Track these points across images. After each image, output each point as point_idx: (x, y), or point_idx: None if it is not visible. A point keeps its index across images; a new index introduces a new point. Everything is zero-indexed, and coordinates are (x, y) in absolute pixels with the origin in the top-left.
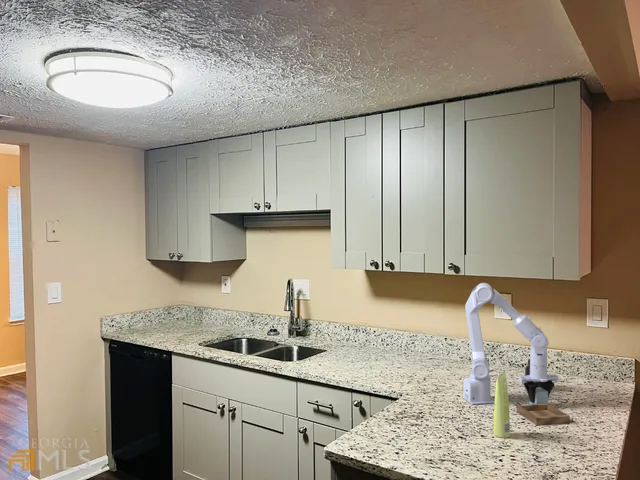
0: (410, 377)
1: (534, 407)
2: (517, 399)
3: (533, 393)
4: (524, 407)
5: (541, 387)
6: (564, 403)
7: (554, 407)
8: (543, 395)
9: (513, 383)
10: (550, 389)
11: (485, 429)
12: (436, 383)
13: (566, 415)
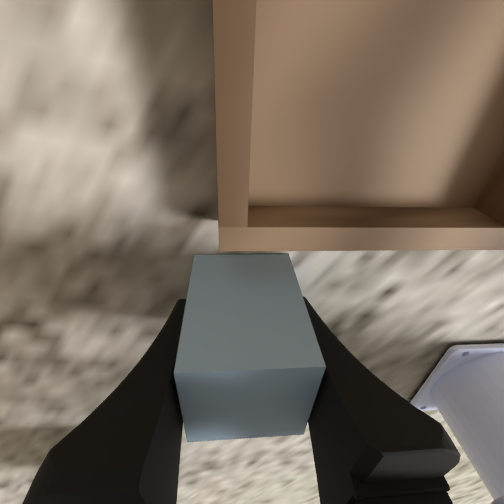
0: (467, 494)
1: (368, 218)
2: None
3: (340, 357)
4: (464, 221)
5: None
6: (23, 305)
7: (220, 133)
8: (234, 332)
9: (185, 477)
10: (127, 399)
11: None
12: (447, 473)
13: None
